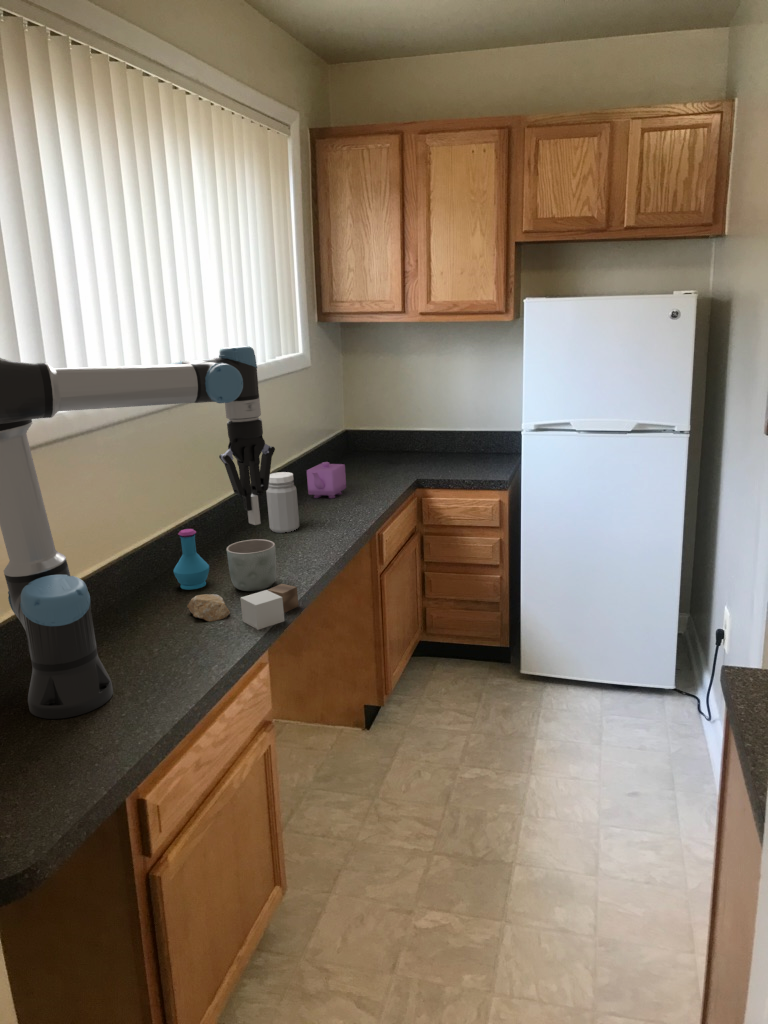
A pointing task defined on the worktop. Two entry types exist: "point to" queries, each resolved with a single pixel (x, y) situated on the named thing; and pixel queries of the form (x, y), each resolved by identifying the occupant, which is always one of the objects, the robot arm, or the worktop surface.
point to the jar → (282, 503)
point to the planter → (252, 564)
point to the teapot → (326, 479)
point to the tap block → (262, 609)
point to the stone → (208, 607)
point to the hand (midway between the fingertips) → (254, 523)
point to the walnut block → (286, 596)
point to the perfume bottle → (190, 563)
